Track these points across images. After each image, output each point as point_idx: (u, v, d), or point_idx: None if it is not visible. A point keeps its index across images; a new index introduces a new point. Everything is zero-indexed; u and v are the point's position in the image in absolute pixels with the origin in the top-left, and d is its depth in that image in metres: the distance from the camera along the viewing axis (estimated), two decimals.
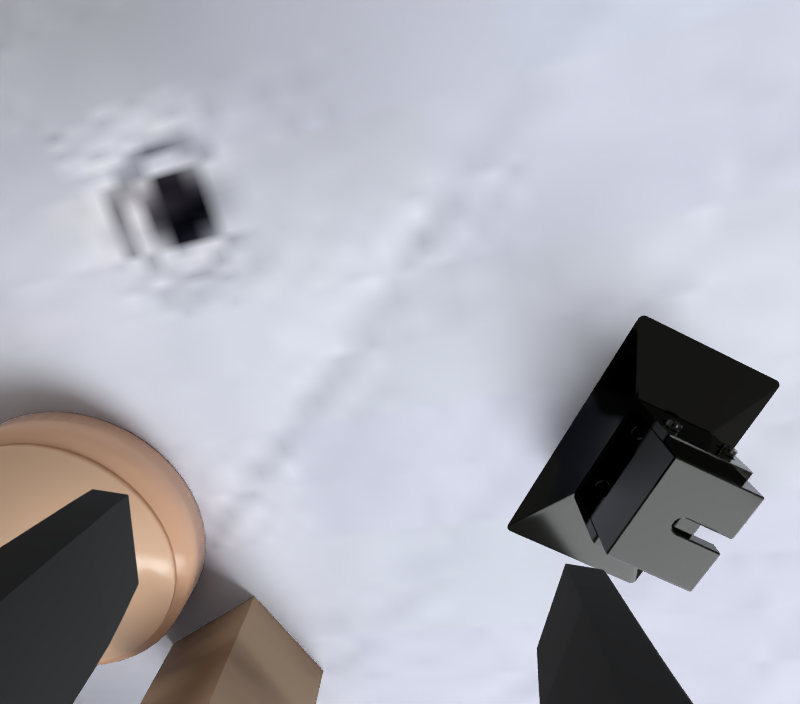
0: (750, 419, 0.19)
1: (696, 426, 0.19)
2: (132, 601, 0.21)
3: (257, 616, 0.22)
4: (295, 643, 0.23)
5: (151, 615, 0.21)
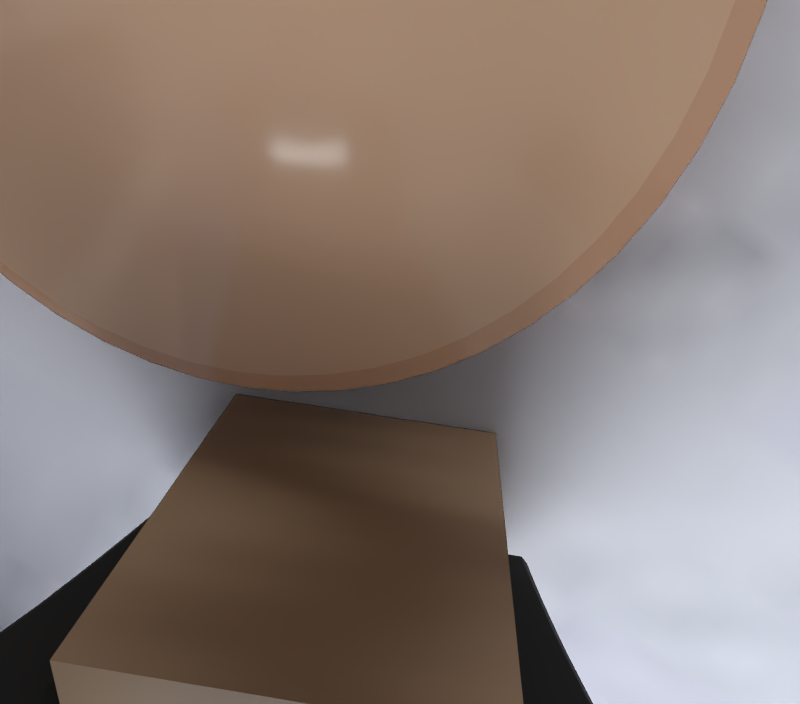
0: None
1: None
2: (361, 264, 0.07)
3: None
4: None
5: (370, 333, 0.07)
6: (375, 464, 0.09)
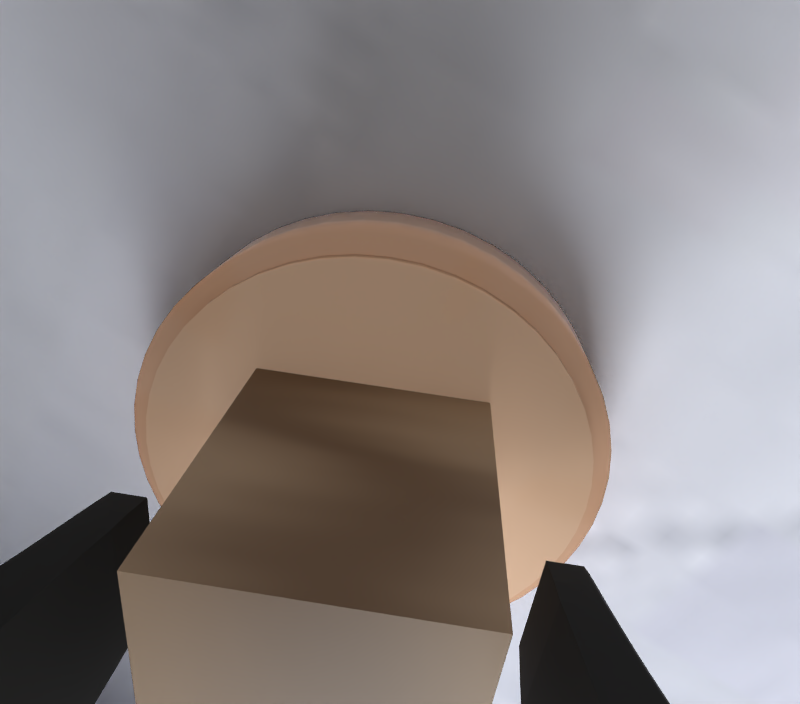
0: None
1: None
2: None
3: None
4: None
5: None
6: (383, 426, 0.10)
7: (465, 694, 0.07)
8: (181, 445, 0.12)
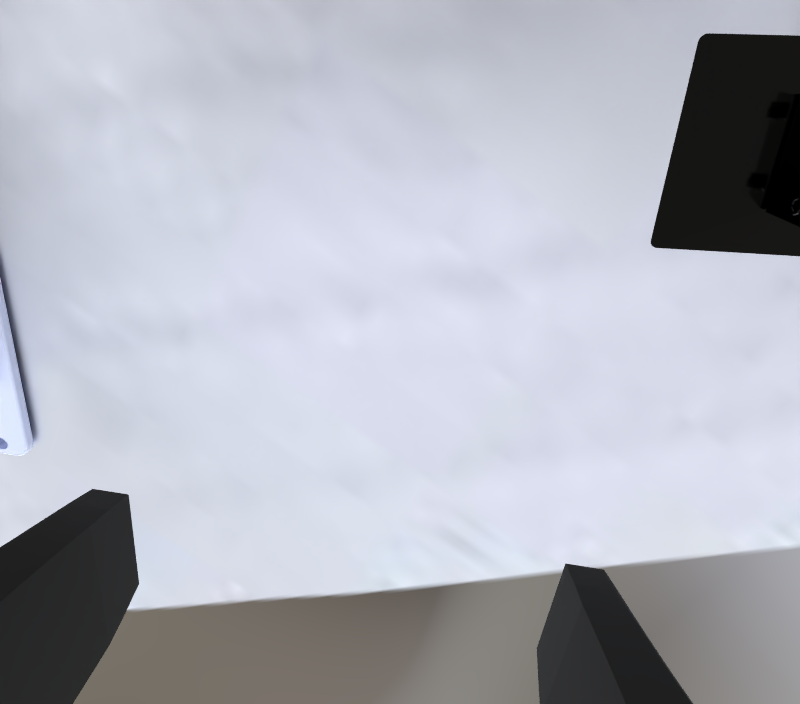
0: None
1: None
2: None
3: None
4: None
5: None
6: None
7: None
8: None
